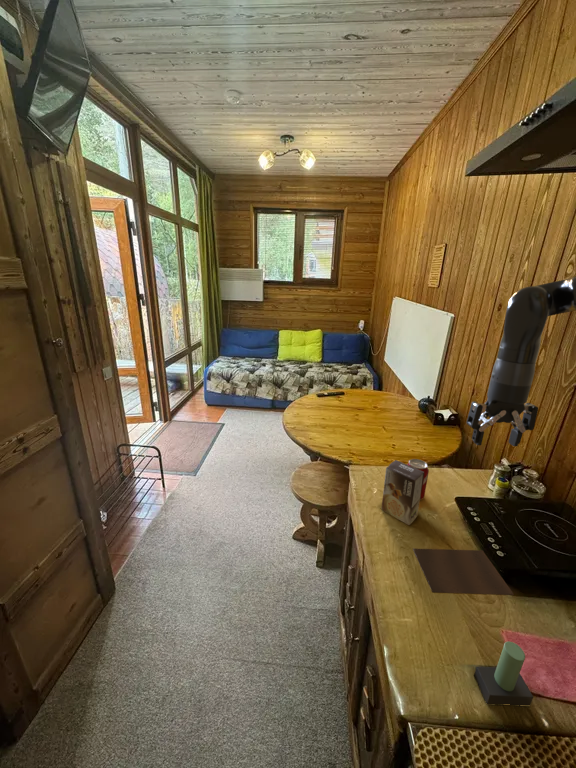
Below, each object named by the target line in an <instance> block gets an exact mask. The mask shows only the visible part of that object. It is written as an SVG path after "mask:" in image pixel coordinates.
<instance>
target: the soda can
mask: <svg viewBox="0 0 576 768" xmlns="http://www.w3.org/2000/svg"><path fill="white" fill-rule="evenodd" d="M406 464H407V465H409V466H411V467H414V468H416V469H418V470H421V471H423V472H424V478H423V484H422V490H421V497H420V501H421V500H423V499H424V498H425V495H426V491H427V484H428V478H429V473H430V470H429V467H428V463H427V462H426V461H424V460H422V459H418V458H411V459H409V460H408V463H406Z"/></svg>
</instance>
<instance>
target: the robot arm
mask: <svg viewBox="0 0 576 768" xmlns="http://www.w3.org/2000/svg"><path fill="white" fill-rule="evenodd" d="M570 312H576V275H574V276H572V277H570V278H566V279H561V280H557V281H551V282H547V283H543V284H537V285H530V286H525V287H522V288H520V289H518V290H517V291H515V292H514V293H513V294H512V295H511V296H510V297H509V300H508V303H507V306H506V311H505V317H504V324H503V334H502V337H501V340H500V342H499V347H498V351H497V355H496V360H495V361H494V364H493V367H492V370H491V371H492V372H491V377H490V380H489V385H488V388H487V393H486V395H487V400H486V402H484V403H478V402H477V401H476V400H475V401H472V402H471V404H470V408H469V412H468V414H467V418H466V421H465V423H466V425H468V426H469V427H470V428H471V429H473V431H472V435H471V440H472V441H473V443H474V444H475V445H476V446H481V445H482V443H483V439H484V435H485V431H486V429H487V428H489V427H491V426H493V425H494V424H495V423H499V424H501V423H506V424H511V426H512V428H511V430H510V434H509V437H508V444H509V445H511V446H512V447H518V446H519V445H520V443H521V442H522V439H523V434H524V433H526V431H533V430H534V429H535V425H536V421H537V417H538V411H539V407H538V406H537V405H535V404H533V403H531V402H528V400H529V395H530V391H531V388H532V384H533V380H534V376H535V373H536V372H535V371H536V363H537V361H538V360H537V359H538V356H539V353H540V348H541V343H542V334H543V332H544V329H545V326H546V323H547V320H548V317H551V316H555V315H561V314H565V313H570ZM484 410H485V411H484ZM521 414H522V418H521V417H520V415H521Z"/></svg>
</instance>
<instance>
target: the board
mask: <svg viewBox="0 0 576 768" xmlns="http://www.w3.org/2000/svg"><path fill="white" fill-rule="evenodd" d="M412 551H413V552H414V555H415V558H416V560H417V562H418V564H419V566H420V568H421V571H422V573H423V575H424V577H425V579H426V582H427V584H428V586H429V588H430V590H431V593H434V594H463V595H464V594H470V595H496V596H497V595H501V596H506V595H507V596H515V594H514V592H513V591H512V589H511V588H510V586H509V585H508V584H507V582H506V581H505V580H504V578H503V577H502V575H501V574H500V573H499V571H498V570H497V568H496V567H495V565H494V564H493V563H492V562H491V560H490V559H489V557H488V556H487V554H486V553H485V552H484V550H482V549H481V550H479V549H449V548H447V549H445V548H414V547H412Z"/></svg>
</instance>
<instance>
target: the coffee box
mask: <svg viewBox="0 0 576 768" xmlns="http://www.w3.org/2000/svg"><path fill="white" fill-rule="evenodd" d="M407 464H408V463H404V462H402V461H400V460H397V459H395V460H393V461H392V462H391V463H389V464H388V466H387V467H386V468H385V475H384V481H383V483H384V484H383V492H382V502H381V510H382V511H383V512H385V513H387V514H388V515H390V516H391V517H392V518H393V517H394V518H395V519H397V520H399V521H401V522H402V523H404V524H406V525H407V526H410V525H411V524H412V523H413V522H414V521H415V520H416V518H417V517H418V515H419V508H420V504H421V503H420V502H421V500H420V497H421V490H422V484H423V478H424V472H423V471H421V470H418V469H416V468H414V467H411V466H409V465H407Z"/></svg>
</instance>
